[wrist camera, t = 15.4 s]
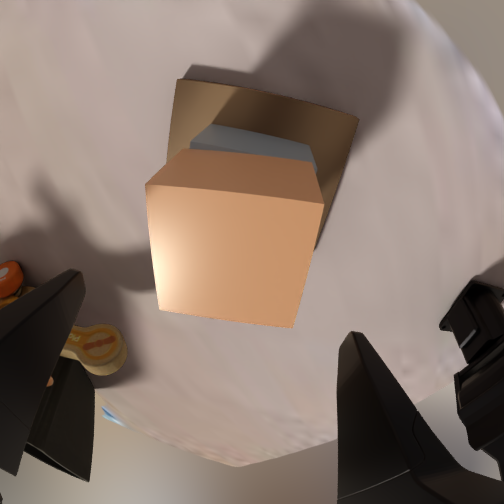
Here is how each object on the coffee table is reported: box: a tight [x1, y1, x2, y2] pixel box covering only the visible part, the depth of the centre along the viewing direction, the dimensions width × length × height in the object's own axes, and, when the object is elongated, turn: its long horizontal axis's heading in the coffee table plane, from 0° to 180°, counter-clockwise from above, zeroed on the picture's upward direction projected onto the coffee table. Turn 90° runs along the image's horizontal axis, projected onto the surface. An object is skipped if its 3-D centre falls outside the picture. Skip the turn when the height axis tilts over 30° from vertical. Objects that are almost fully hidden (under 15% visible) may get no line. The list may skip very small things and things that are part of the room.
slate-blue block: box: [189, 124, 317, 174], centre depth 17 cm, size 6×6×4 cm
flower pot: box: [24, 356, 95, 482], centre depth 32 cm, size 19×19×17 cm
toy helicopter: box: [0, 261, 127, 386], centre depth 23 cm, size 8×21×14 cm, turn 89°
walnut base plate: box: [166, 79, 359, 251], centre depth 19 cm, size 11×11×1 cm
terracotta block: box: [145, 148, 324, 328], centre depth 13 cm, size 6×6×4 cm
